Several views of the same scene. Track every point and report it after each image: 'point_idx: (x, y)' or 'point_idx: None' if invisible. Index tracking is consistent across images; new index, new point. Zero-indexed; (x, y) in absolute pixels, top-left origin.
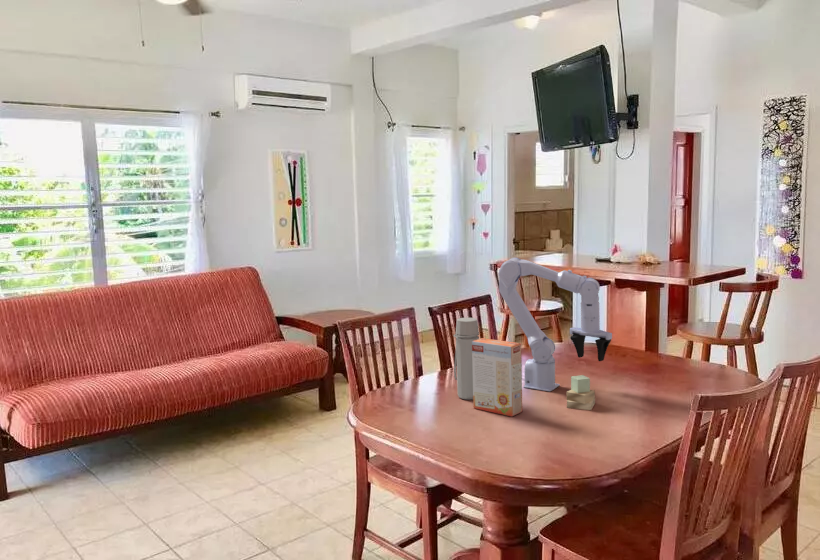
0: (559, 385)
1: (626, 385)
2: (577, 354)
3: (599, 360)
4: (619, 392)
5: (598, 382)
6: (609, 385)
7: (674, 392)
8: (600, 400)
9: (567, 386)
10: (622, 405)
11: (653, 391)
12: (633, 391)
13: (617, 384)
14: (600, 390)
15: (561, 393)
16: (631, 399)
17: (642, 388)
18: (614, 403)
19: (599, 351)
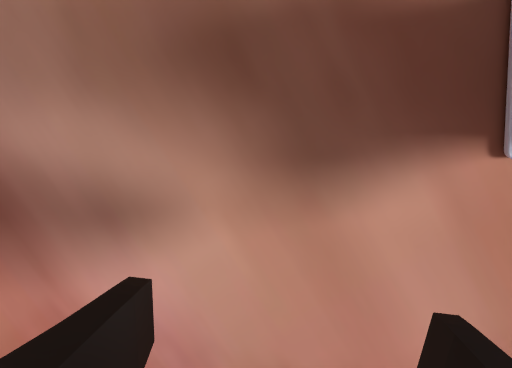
0: (504, 147)
1: (198, 350)
2: (487, 339)
3: (129, 281)
4: (157, 241)
5: (330, 329)
6: (259, 313)
7: None
8: (142, 49)
9: (450, 176)
10: (7, 48)
11: None
12: None
13: (238, 344)
14: (248, 218)
15: (418, 10)
16: (48, 174)
17: None
18: (56, 51)
19: (14, 361)
